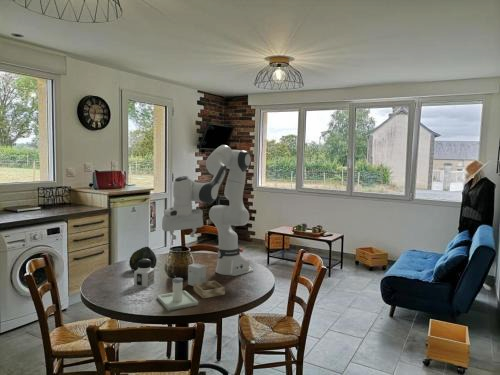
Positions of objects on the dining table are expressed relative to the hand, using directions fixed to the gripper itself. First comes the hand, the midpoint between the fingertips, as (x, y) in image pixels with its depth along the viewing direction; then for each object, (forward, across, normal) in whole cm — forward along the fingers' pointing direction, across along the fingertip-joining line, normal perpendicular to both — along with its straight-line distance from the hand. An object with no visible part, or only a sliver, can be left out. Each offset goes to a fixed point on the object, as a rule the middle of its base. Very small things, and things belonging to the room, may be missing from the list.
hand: (183, 238), depth 180 cm
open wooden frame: (+28, -11, +6) cm, 30 cm away
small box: (+28, -10, -6) cm, 30 cm away
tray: (+27, +7, +10) cm, 30 cm away
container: (+28, +14, -20) cm, 37 cm away
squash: (+28, +8, -44) cm, 53 cm away
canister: (+26, +7, +10) cm, 29 cm away
